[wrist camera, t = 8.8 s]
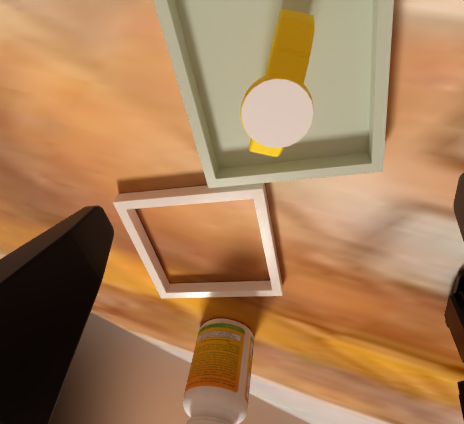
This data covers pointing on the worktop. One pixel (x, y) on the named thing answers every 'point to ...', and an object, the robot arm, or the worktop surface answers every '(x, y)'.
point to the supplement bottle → (220, 373)
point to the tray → (254, 67)
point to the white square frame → (195, 195)
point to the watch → (281, 89)
